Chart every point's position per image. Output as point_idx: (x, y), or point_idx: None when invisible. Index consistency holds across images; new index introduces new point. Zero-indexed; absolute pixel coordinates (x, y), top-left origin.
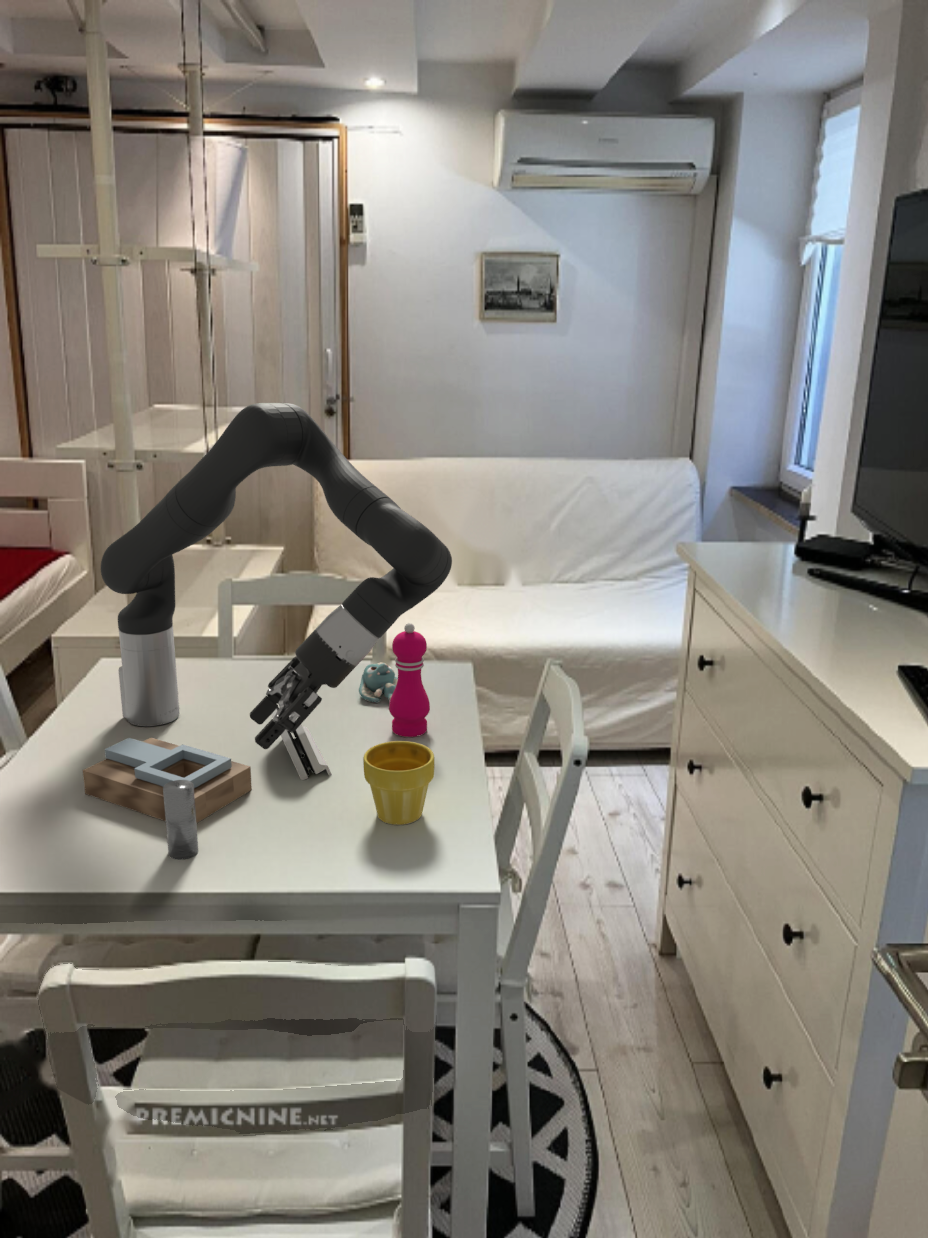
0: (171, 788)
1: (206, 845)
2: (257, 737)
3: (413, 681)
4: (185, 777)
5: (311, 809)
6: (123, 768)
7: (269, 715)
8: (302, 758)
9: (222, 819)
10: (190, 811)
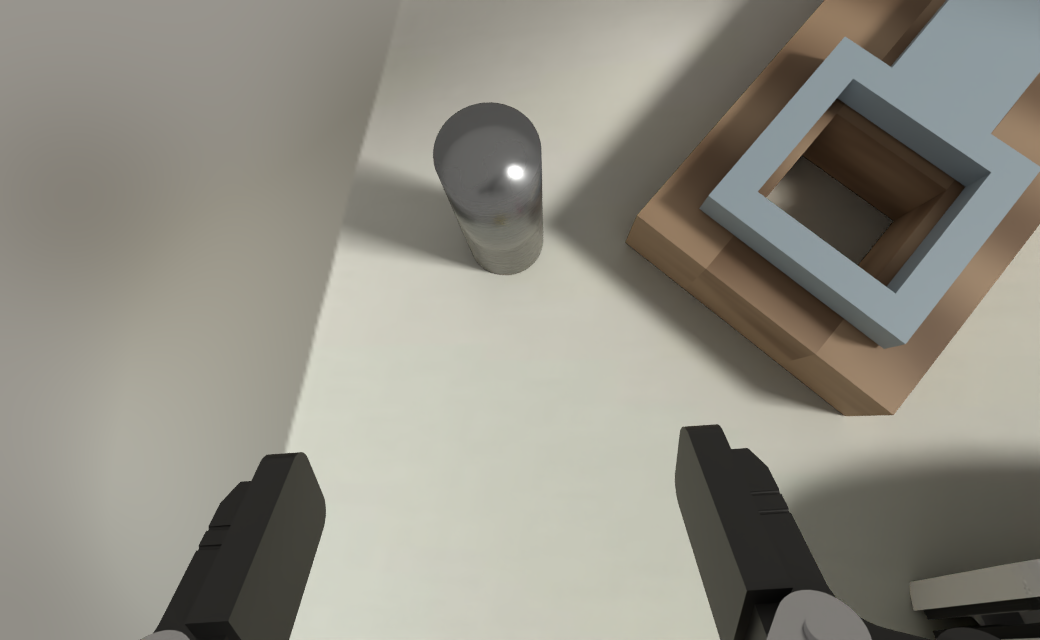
0: (476, 130)
1: (529, 294)
2: (257, 472)
3: None
4: (760, 195)
5: (693, 600)
6: (904, 18)
7: (698, 565)
8: (975, 615)
9: (666, 331)
10: (461, 220)
